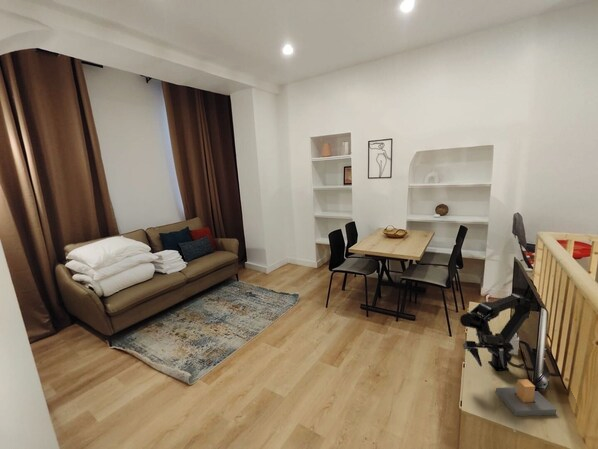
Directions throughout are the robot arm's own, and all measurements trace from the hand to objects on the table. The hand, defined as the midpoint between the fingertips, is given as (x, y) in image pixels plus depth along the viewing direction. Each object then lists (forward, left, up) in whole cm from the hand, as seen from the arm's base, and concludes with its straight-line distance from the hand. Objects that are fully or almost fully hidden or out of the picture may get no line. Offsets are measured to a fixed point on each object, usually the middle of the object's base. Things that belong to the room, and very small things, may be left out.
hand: (492, 367), depth 121 cm
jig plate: (+6, +10, -13) cm, 18 cm away
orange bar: (+6, +10, -13) cm, 18 cm away
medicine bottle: (-28, +28, -14) cm, 42 cm away
